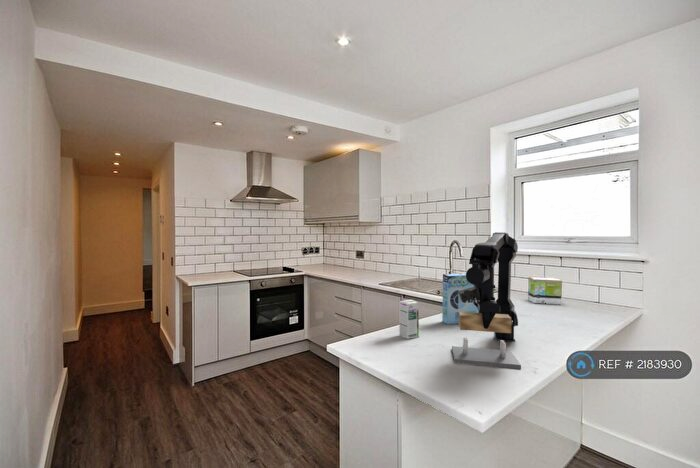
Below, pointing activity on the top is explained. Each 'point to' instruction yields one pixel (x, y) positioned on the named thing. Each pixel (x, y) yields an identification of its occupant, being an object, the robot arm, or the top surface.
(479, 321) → the wooden block
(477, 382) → the top surface
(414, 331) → the syrup box
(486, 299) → the robot arm
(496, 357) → the peg stand
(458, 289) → the gum box
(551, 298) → the tea box
